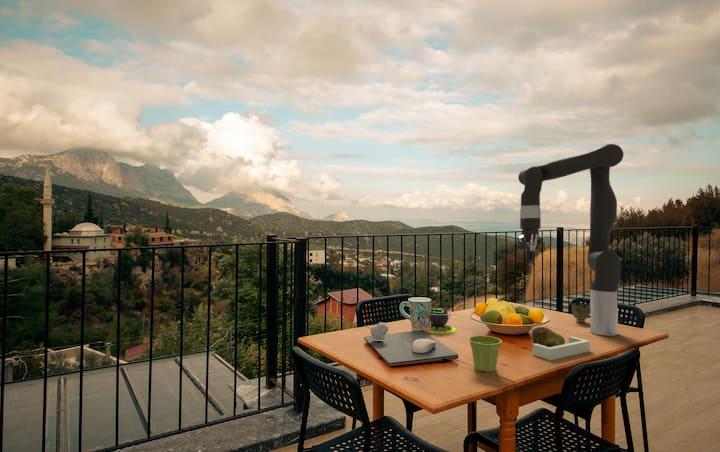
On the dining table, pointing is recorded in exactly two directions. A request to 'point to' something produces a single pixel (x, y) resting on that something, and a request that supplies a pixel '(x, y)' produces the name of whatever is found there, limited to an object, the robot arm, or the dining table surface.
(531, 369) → the dining table surface
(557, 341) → the olive green oval lump
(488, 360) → the plant pot
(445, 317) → the toy cauldron
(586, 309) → the cup
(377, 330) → the grey rough lump
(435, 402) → the dining table surface
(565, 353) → the corral
